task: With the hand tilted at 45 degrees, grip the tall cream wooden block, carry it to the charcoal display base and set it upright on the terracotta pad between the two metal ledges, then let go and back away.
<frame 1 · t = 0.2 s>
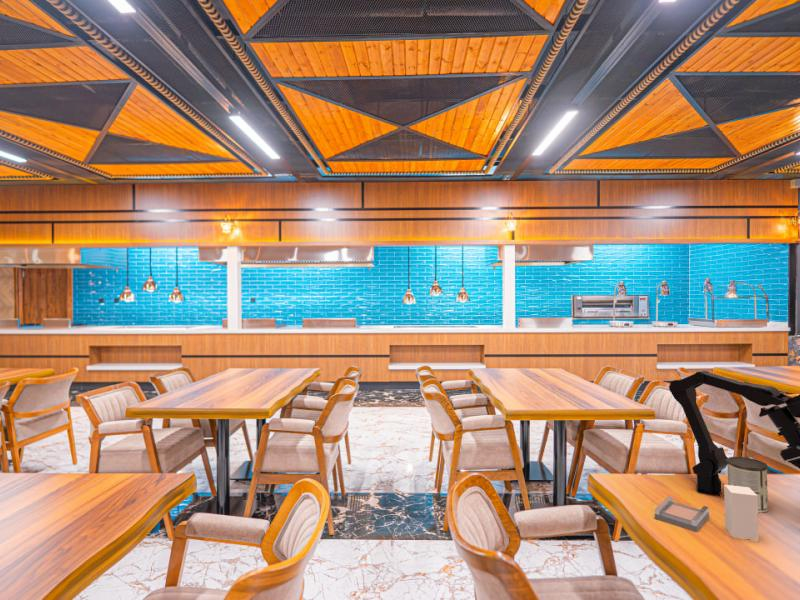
coffee can: (747, 506, 142), on the table
display base: (681, 517, 134), on the table
cream block: (741, 534, 124), on the table
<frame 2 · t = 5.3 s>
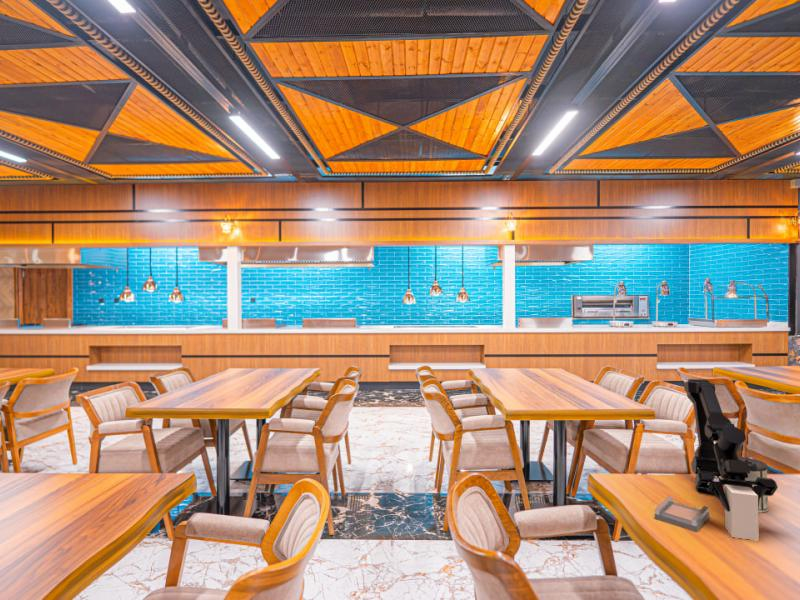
hand: (742, 512, 123), 7 cm above the table, tool tilted 45°, fingers closed on cream block, 6 cm apart
cream block: (741, 534, 124), on the table, touching gripper
everything else where it was.
when the fingers open (10 cm above the table, at t = 10.8 s): cream block stays where it is, resting on display base.
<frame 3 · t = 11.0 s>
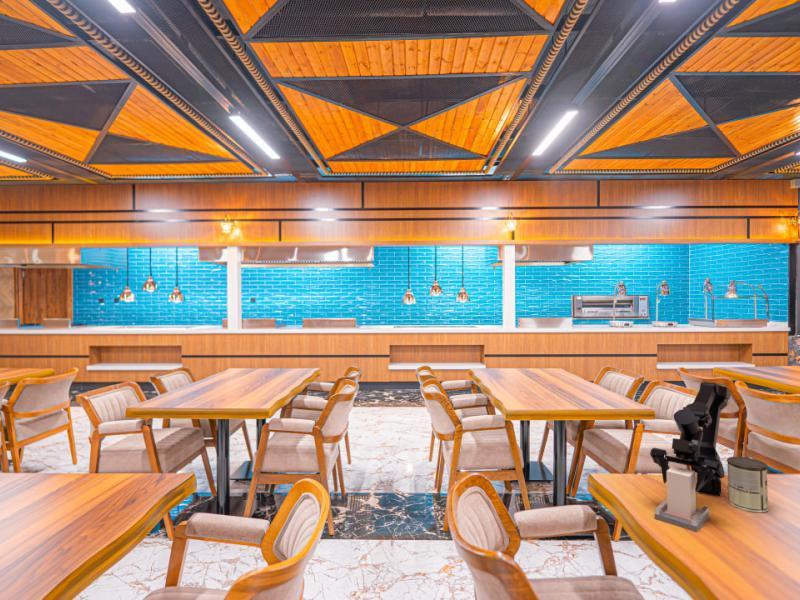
hand: (679, 486, 134), 10 cm above the table, tool tilted 45°, fingers open, 8 cm apart
cream block: (681, 512, 134), point 2 cm above the table, touching display base
everything else where it was.
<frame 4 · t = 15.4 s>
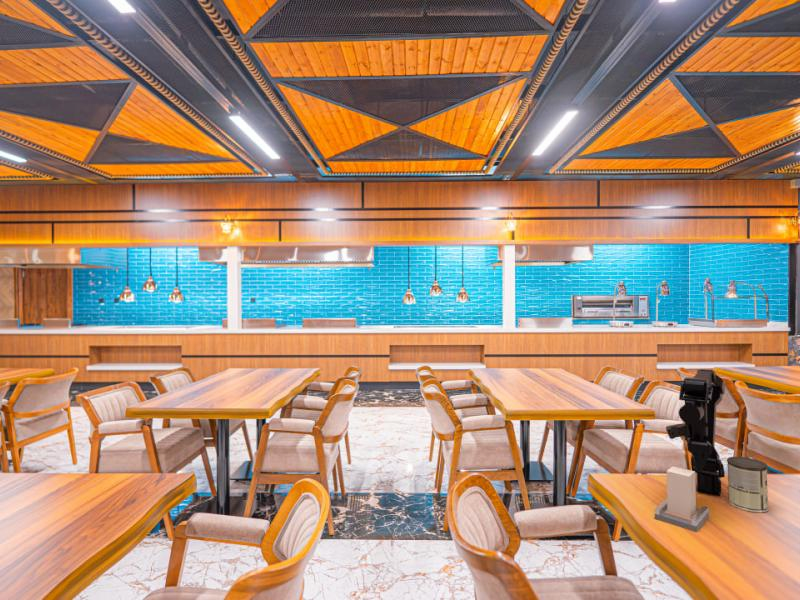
hand: (697, 466, 142), 13 cm above the table, tool pointing down, fingers open, 9 cm apart
nothing on the table moved.
at the end: cream block 0.2 cm off-centre on the display base, point 1.7 cm above the display base's base; cream block tilted 0°; the gripper is holding nothing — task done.
